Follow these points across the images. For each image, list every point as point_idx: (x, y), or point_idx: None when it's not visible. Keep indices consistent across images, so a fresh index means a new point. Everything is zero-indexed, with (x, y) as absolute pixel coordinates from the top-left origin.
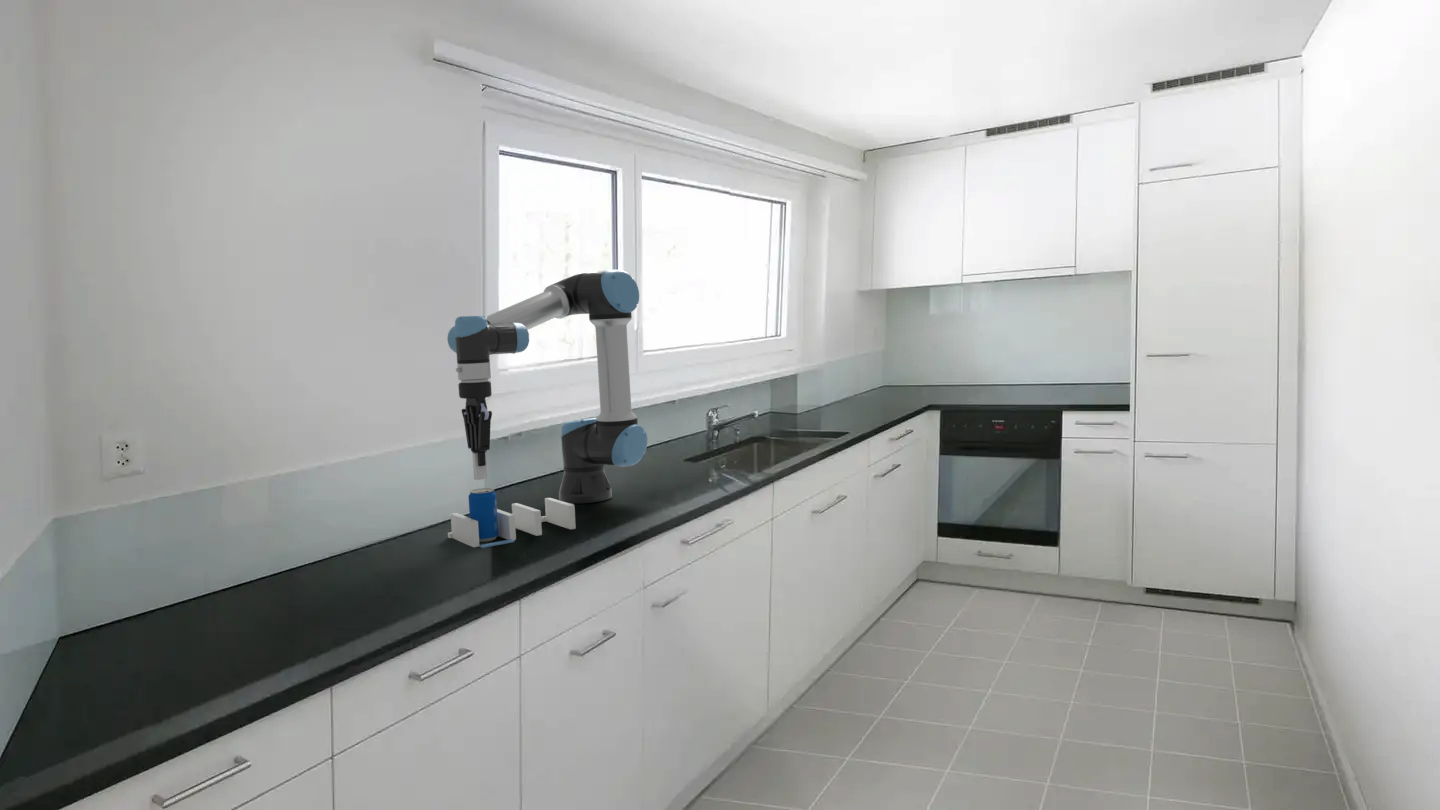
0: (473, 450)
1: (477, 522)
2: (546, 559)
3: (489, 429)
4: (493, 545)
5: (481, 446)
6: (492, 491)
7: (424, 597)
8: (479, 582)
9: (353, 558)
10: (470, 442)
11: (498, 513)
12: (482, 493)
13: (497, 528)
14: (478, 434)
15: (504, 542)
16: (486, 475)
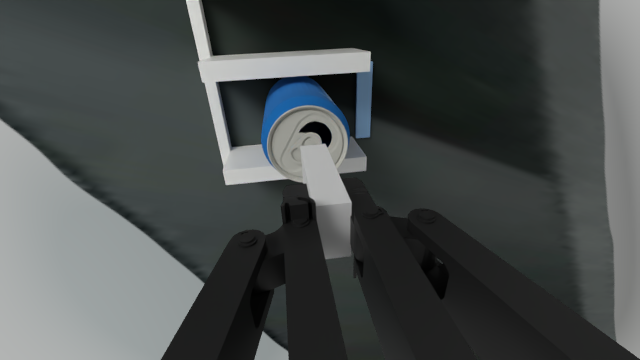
0: (355, 272)
1: (365, 156)
2: (548, 67)
3: (589, 330)
4: (369, 112)
5: (443, 268)
6: (336, 117)
7: (537, 258)
8: (549, 198)
9: (282, 301)
10: (268, 304)
11: (297, 75)
12: (343, 154)
13: (319, 85)
14: (477, 352)
15: (371, 87)
16: (327, 150)
